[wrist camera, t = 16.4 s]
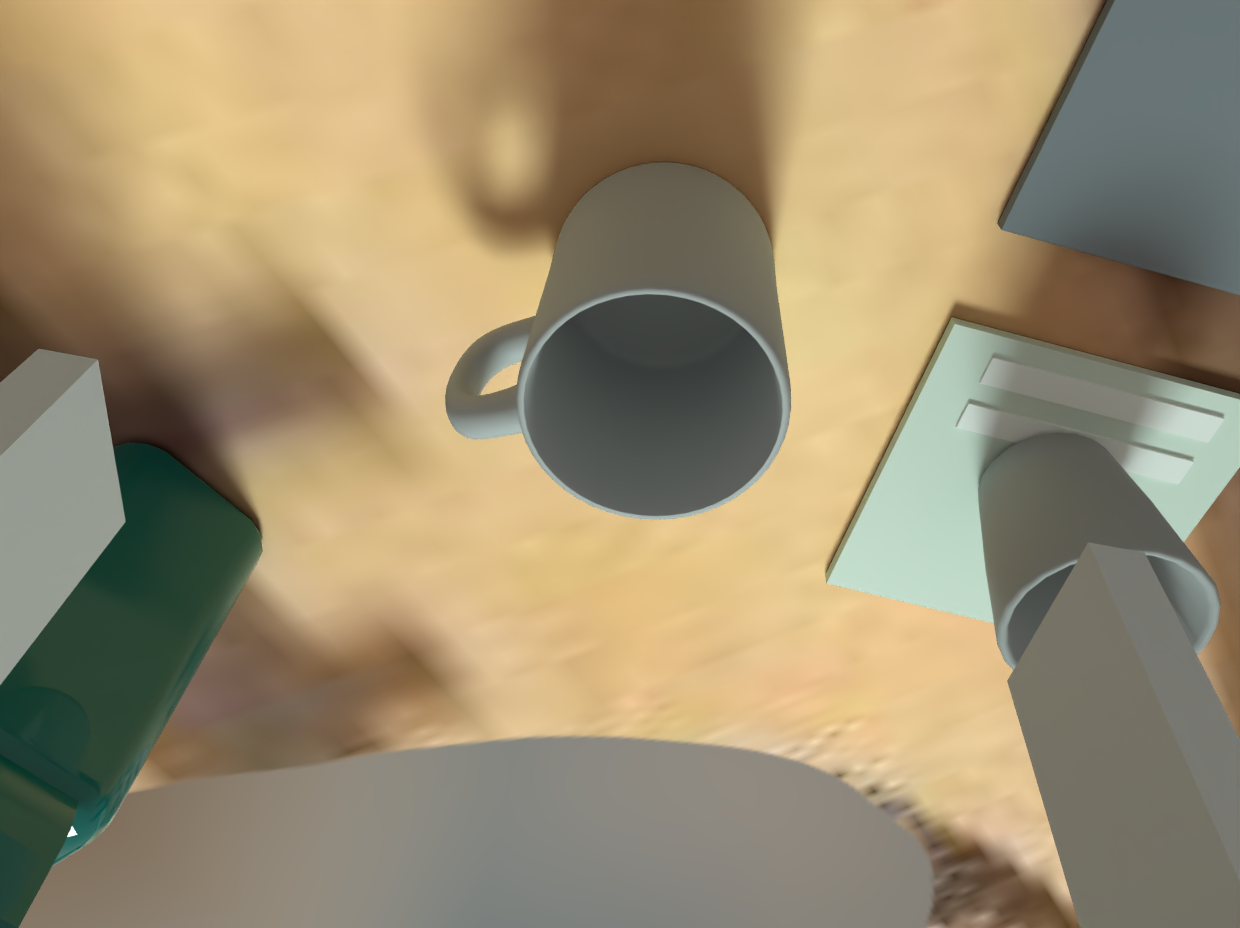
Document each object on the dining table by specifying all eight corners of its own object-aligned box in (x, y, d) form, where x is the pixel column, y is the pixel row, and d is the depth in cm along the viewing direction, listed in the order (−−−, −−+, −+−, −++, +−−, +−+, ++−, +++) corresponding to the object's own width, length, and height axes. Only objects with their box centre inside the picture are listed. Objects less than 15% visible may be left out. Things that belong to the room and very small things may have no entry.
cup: (1134, 389, 40) (1219, 526, 33) (1150, 568, 45) (1227, 718, 39) (939, 436, 42) (982, 574, 35) (977, 602, 47) (1021, 751, 41)
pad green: (951, 317, 40) (955, 325, 39) (1274, 402, 41) (1283, 412, 40) (825, 574, 48) (827, 585, 47) (1099, 640, 49) (1104, 651, 48)
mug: (742, 129, 36) (755, 247, 27) (795, 333, 41) (821, 492, 32) (441, 221, 39) (362, 356, 30) (521, 403, 44) (473, 568, 34)
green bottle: (181, 615, 52) (-96, 1062, 34) (39, 511, 49) (-353, 945, 31) (301, 525, 48) (59, 977, 30) (155, 405, 45) (-216, 832, 27)
